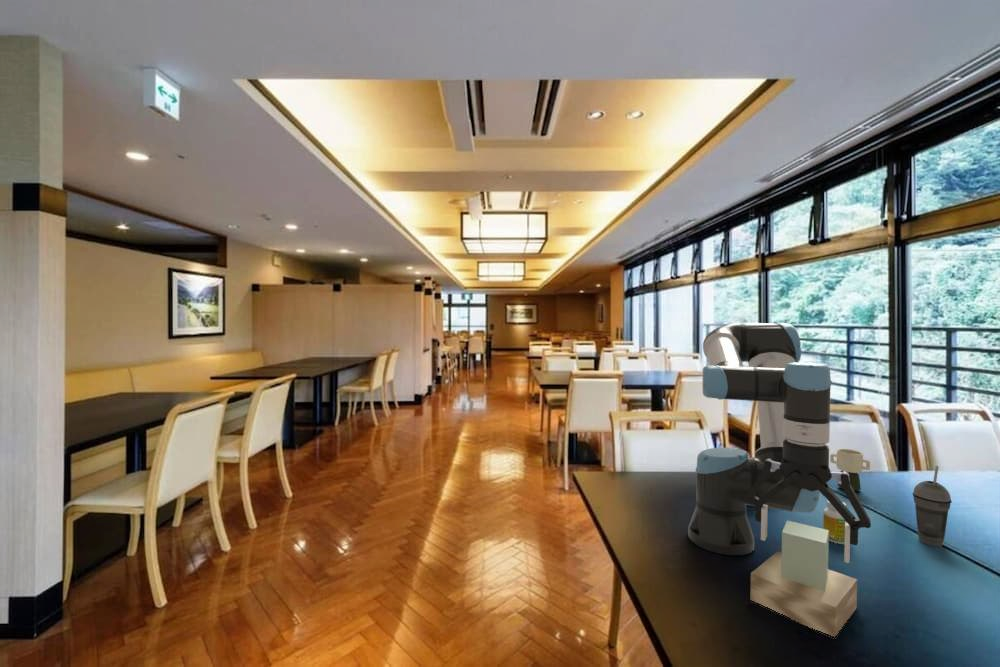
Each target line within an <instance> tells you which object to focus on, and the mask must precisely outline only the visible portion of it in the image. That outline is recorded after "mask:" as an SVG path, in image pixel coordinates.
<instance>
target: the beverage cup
mask: <svg viewBox="0 0 1000 667" xmlns="http://www.w3.org/2000/svg"><path fill="white" fill-rule="evenodd" d="M938 472H939V466H938V465H935V469H934V475H933V481H932V480H924V481H921V482H919V483H917V484H916V485H915V486H914V488H913V492H912V496H913V502H914V506H915V517H916V527H917V528H916V529H917V536H918V541H920V542H921V543H922V544H925V545H928V546H933V547H938V548H939V547H943V546H944V542H945V541H944V540H945V536H946V532H947V531H946V530H947V529H946V528H947V523H948V522H947V521H948V515H949V510H950V508H951V504H952V498H951V497H952V496H951V493H950V492H949V490H948V489H947V488H946V487H945V486H944V485H942V484H941V483H939V482H937V479H938V475H939V474H938Z"/></svg>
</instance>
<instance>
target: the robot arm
mask: <svg viewBox="0 0 1000 667" xmlns="http://www.w3.org/2000/svg"><path fill="white" fill-rule="evenodd" d="M702 349H703V350H702V351H703V353H704V356H705V357H706V359H707V361H708V365H705V366H704V367H703V368H702V395H703V396H704V397H705V398H707V399H717V400H732V401H733V400H734V401H735V400H736V401H748V402H749V401H754V402H757V414H758V416H757V417H758V425H759V428H758V429H759V437H760V447H759V448H757V449H756V450H755V452H754V457H752V456H749V454H748V452H747V451H745V450H744V449H741V448H735V447H724V446H723V447H713V448H707V449H704V450H702V451H700V452H699V454H698V455H697V457H696V467H695V472H696V487H695V488H696V491H695V492H696V493H695V494H696V495H695V496H696V497H695V508H694V512H693V514H692V516H691V519H690V522H689V524H688V526H687V527H688V528H687V532H688V533H687V534H688V539H689V540H690V541H691V542H692V543H693V544H695V545H696V546H698V547H700V548H701V549H703V550H706V551H709V552H711V553H716V554H718V555H719V554H720V555H724V554H725V556H733V555H735V556H737V555H739V556H745V555H749V554H751V553H752V551H753V552H754V550H755V537H754V534H753V531H752V528H751V525H750V522H749V519H748V514H747V512H748V511H747V509H748V506H747V505H750V506H749V507H755V510H754V511H755V515H754V519H755V521H756V522H759V523H760V541H763V542H765V541H766V539H767V537H768V513H769V512H768V509H770V510H771V509H772V510H779V511H786V512H790V513H804V514H809V513H812V512H814V511H815V510H816V508H817V506H818V504H819V500H820V499H819V498H820V494H822V496H823V497H824V498H826V501H827V500H828V501H829V502H830V503H831V504H832V505H833V507H834V508H835V509H836V510H837V511H838V512H839V514H840V515H841V516H842V517H843V518H844V519H845V521H846V522H847V523H846V522H845V544H844V553H843V554H844V555H843V557H844V560H843V561H844V563H847V564H850V556H851V555H850V554H851V553H850V552H851V545H852V546H857V545H858V544H859V530H860V529H861V528H865V529H870V528H871V527H872V523H871V519H870V516H869V515H868V513H867V511H866V510H865V507H864V506H863V504H862V502H861V500H860V498H859V497H858V495H857V493H856V491H854V489H853V488H852V486H851V484H850V479H849V473H848V472H847V471H842V470H841V471H842V472H841V471H832V470H830V465H829V464H830V447H829V445H828V443H829V442H830V434H831V432H830V430H831V428H830V427H831V426H830V424H831V422H830V417H831V416H830V414H831V411H830V409H831V387H832V385H833V383H832V382H833V381H832V380H831V368H830V367H829V366H828V365H827V364H824V363H818V362H805V361H804V362H802V361H801V356H802V348H801V339H800V336H799V333H798V330H797V328H796V327H795V326H794V325H793V324H790V323H783V322H782V323H781V322H778V321H777V322H773V323H766V322H764V323H763V322H734V323H732V322H731V323H727V324H723V325H722V326H719V327H717V328H715V329H713V330H711V331H710V332H709V333H708V334H707V335H706V336H705V337H704V340H703V343H702ZM800 361H801V362H800ZM743 362H746V363H747V366H744V365H743ZM831 479H834V480H835V481H836V483H837V485H838V484H842V488H843V489H842V488H841V489H842V490H843V492H844V494H845V496H846V497H847V499H848V501H849V502H850V505H851V507H852V508H853V510H854V512H855V514H856V515H857V517H858V518H857V517H855V515H854V514H853V513H852V512H851V511H850V509H848V507H847V505H846V506H845V505H844V504H843V503H842V502H843V501H842V500H841V499H840V498H839V497H838V496H837V495H836V493H835V492H834V491H833V490H832V488H831V487H830V485H829V484H828V482H829V481H830V480H831ZM735 556H734V557H735Z"/></svg>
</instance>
